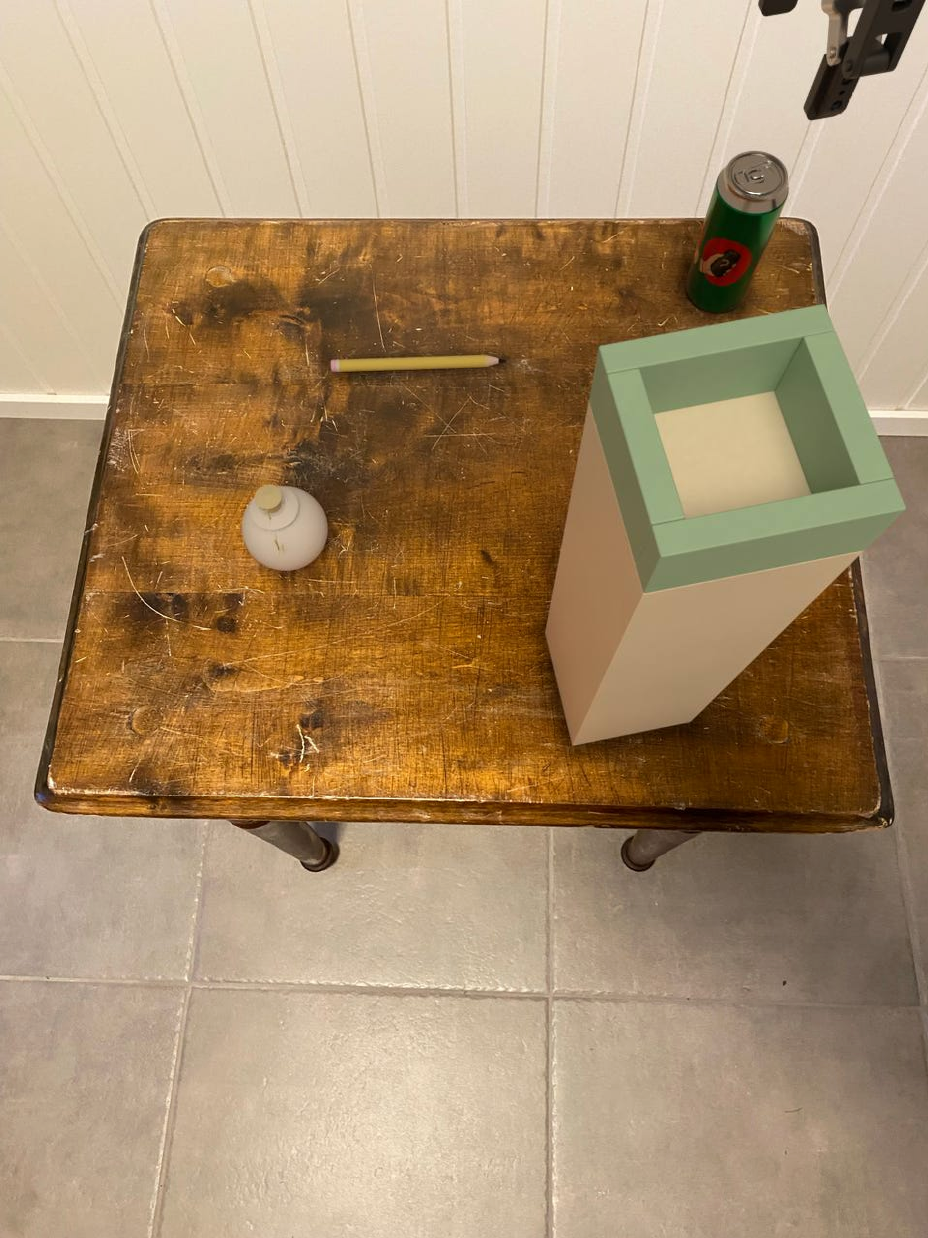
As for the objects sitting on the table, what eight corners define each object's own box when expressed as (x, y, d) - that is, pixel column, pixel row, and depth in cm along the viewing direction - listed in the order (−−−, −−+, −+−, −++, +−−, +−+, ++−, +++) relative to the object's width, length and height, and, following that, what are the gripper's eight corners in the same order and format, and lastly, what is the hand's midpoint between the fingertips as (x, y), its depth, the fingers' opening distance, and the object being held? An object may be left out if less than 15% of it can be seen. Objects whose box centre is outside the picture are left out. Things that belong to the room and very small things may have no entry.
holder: (658, 609, 64) (825, 302, 32) (690, 722, 61) (907, 508, 29) (544, 632, 63) (598, 345, 32) (572, 746, 61) (660, 557, 29)
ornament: (326, 501, 67) (299, 432, 58) (344, 590, 65) (318, 534, 55) (248, 518, 67) (208, 452, 57) (263, 608, 64) (223, 555, 55)
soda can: (754, 309, 72) (804, 194, 60) (695, 322, 71) (733, 209, 60) (734, 260, 73) (779, 139, 62) (676, 273, 73) (710, 153, 62)
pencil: (507, 369, 70) (507, 361, 69) (332, 374, 71) (330, 367, 70) (507, 358, 71) (507, 350, 70) (333, 364, 71) (330, 356, 70)
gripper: (1081, -200, 35) (900, 140, 50) (947, -401, 40) (818, -33, 55) (901, -171, 35) (773, 162, 50) (787, -376, 39) (702, -13, 55)
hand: (797, 60), depth 53 cm, fingers open, 8 cm apart
